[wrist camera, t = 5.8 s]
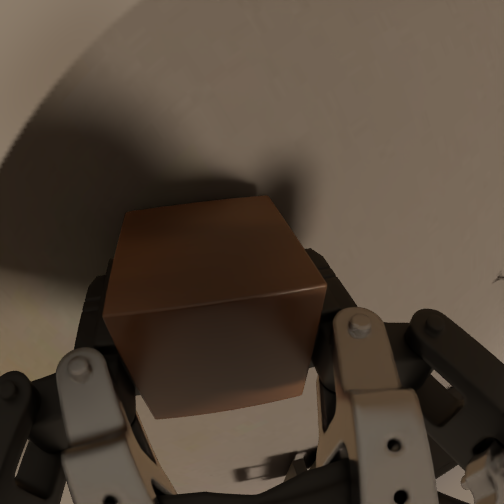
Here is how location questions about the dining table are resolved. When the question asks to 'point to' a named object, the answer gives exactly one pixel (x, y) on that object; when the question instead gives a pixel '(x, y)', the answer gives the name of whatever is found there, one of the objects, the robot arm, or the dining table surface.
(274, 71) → the dining table surface
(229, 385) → the block
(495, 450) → the robot arm
